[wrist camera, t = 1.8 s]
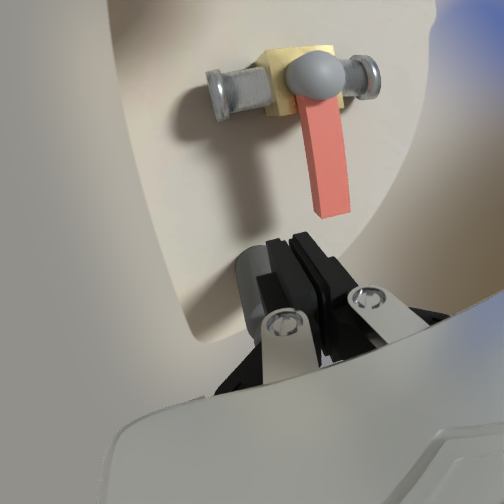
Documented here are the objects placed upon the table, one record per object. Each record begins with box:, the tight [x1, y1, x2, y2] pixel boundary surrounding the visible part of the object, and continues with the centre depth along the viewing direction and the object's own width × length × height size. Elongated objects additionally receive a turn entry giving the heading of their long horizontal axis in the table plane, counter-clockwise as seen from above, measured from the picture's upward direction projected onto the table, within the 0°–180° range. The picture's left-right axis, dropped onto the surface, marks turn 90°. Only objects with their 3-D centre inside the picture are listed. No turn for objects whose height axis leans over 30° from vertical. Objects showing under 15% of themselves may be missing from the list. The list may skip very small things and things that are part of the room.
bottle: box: [235, 245, 271, 347], centre depth 29 cm, size 6×6×15 cm
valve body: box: [206, 45, 381, 122], centre depth 24 cm, size 6×16×6 cm, turn 101°
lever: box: [285, 50, 350, 219], centre depth 22 cm, size 14×4×3 cm, turn 11°
